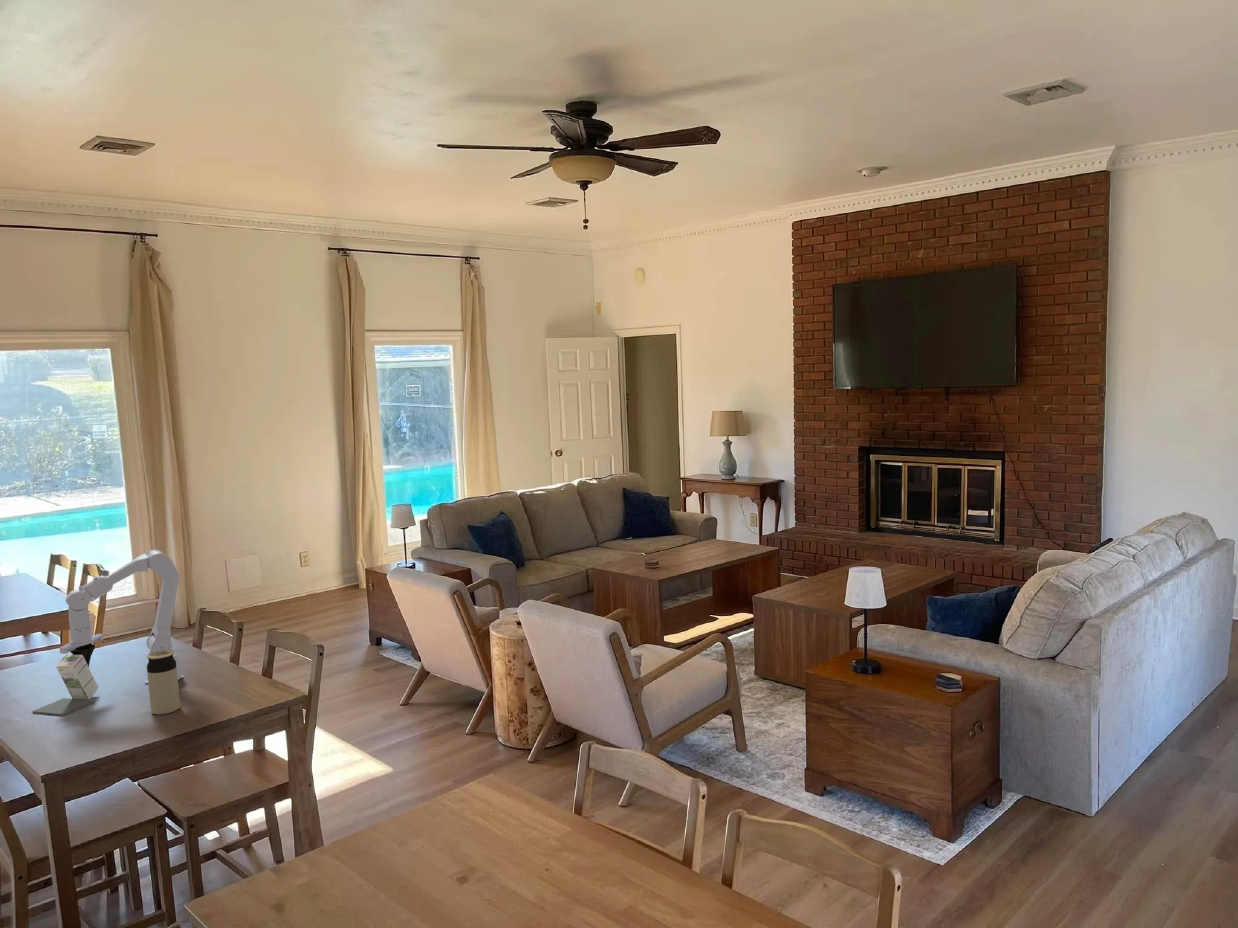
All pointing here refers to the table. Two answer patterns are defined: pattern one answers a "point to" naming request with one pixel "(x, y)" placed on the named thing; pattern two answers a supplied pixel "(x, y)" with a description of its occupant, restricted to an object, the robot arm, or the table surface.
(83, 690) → the syrup box
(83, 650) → the robot arm
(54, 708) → the mat
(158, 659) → the travel mug
